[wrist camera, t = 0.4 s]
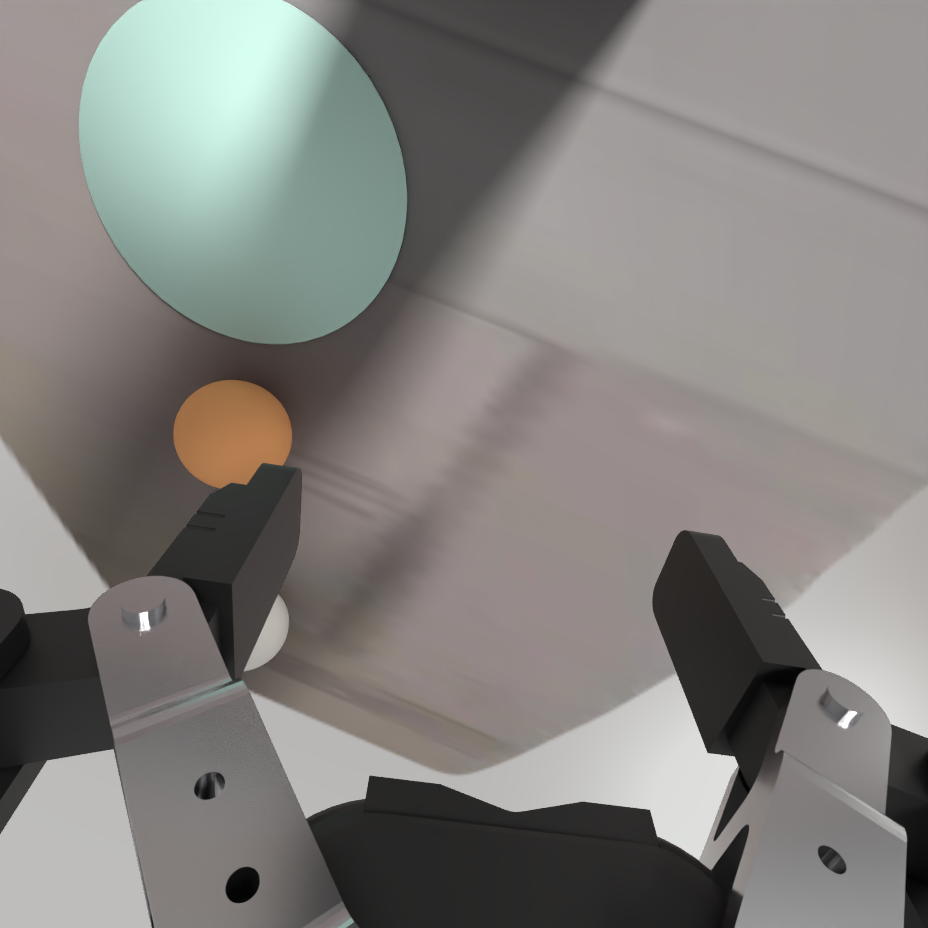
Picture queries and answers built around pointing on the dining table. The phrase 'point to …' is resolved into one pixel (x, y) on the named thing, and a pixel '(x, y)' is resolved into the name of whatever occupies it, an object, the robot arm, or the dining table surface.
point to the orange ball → (231, 432)
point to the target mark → (243, 166)
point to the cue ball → (270, 636)
